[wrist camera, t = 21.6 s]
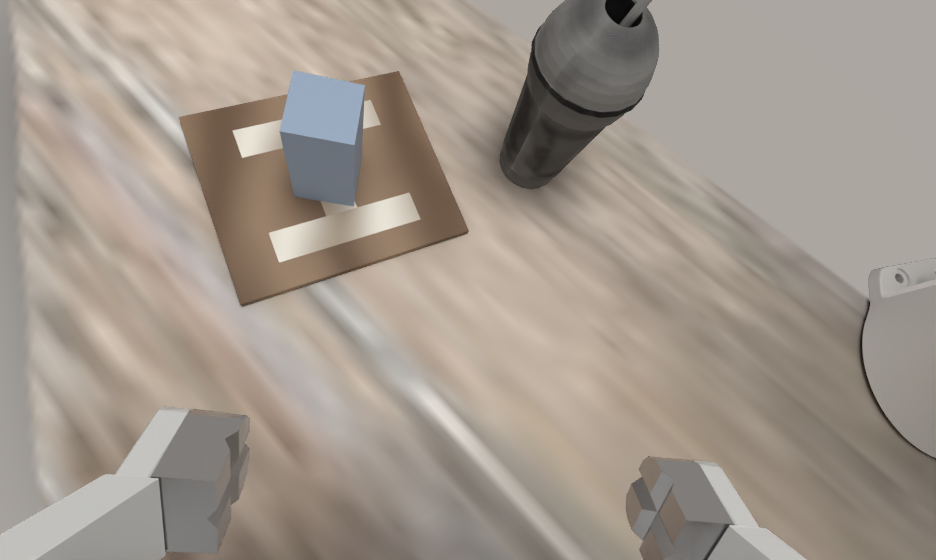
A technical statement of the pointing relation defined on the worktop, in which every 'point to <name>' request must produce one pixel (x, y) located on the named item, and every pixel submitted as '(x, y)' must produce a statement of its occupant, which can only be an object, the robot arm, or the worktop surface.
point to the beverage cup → (578, 83)
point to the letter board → (310, 221)
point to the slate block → (323, 137)
